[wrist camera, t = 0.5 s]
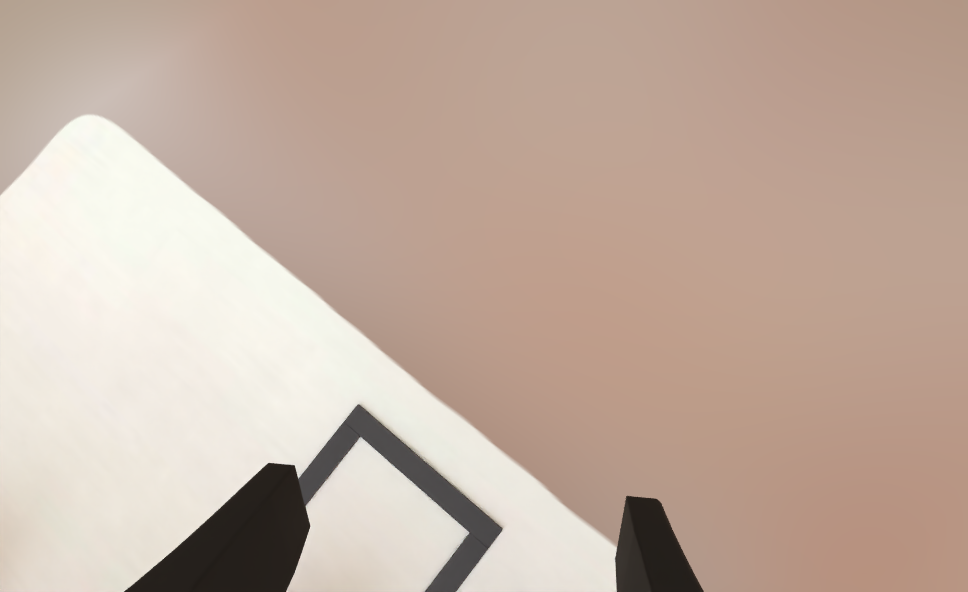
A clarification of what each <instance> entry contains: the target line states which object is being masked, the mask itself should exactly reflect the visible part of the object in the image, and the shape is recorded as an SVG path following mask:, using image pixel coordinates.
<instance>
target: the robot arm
mask: <svg viewBox="0 0 968 592" xmlns="http://www.w3.org/2000/svg"><path fill="white" fill-rule="evenodd" d="M309 529H310V523H309V519H308V515H307V511H306V508H305V504H304V500H303V496H302V492H301V488H300V484H299V480H298V477H297V473H296V469H295V465H285V464H274V463H268V464H267V465H266V466H265V467H264V468H262V469H261V470H260V471H259V472H258V473H257V474H256V475H255V476H254V477H253V478H252V479H251V480H250V481H248V482H247V483H246V484H245V485H244V486H243V487H242V488H241V489H240V490H239V491H238V492H237V493H236V494H235V495H234V496H233V497H231V498H230V499H229V500H228V501H227V502H226V503H225V504H224V505H223V506H222V507H221V508H220V509H219V510H218V511H216V512H215V513H214V514H213V515H212V516H211V517H210V518H209V519H208V520H207V521H206V522H205V523H203V524H202V525H201V526H200V527H199V528H198V529H197V530H196V531H195V532H193V533H192V534H191V535H190V536H189V537H188V538H187V539H186V540H185V541H184V542H182V543H181V544H180V545H179V546H178V547H177V548H176V549H174V550H173V551H172V552H171V553H170V554H169V555H168V556H166V557H165V558H164V559H163V560H162V561H160V562H159V563H158V564H157V565H156V566H154V567H153V568H152V569H151V570H150V571H149V572H147V573H146V574H145V575H144V576H143V577H141V578H140V579H139V580H138V581H137V582H135V583H134V584H133V585H132V586H131V587H129V588H128V589H127V590H126V591H124V592H286V590H287V588H288V586H289V584H290V582H291V579H292V577H293V575H294V573H295V570H296V567H297V564H298V561H299V559H300V556H301V553H302V550H303V547H304V544H305V541H306V538H307V535H308V532H309ZM615 562H616V583H617V592H704V591H703V589H702V588H701V586H700V584H699V582H698V580H697V578H696V576H695V574H694V573H693V571H692V569H691V567H690V565H689V563H688V561H687V559H686V557H685V555H684V553H683V551H682V549H681V547H680V545H679V542H678V541H677V538H676V536H675V534H674V532H673V530H672V528H671V525H670V523H669V521H668V518H667V516H666V514H665V511H664V509H663V507H662V504H661V503H660V502H659V501H658V500H657V499H653V498H642V497H632V496H626V501H625V507H624V513H623V518H622V524H621V529H620V535H619V541H618V546H617V552H616V557H615Z"/></svg>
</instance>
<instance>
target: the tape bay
mask: <svg viewBox="0 0 968 592" xmlns="http://www.w3.org/2000/svg"><path fill="white" fill-rule="evenodd" d="M360 436H361V437H362V438H363V439H364V440H365V441H367V442H368V443H369V444H370V445H371V446H372V447H373V448H375V449H376V450H377V451H378V452H379V453H380V454H381V455H382V456H384V457H385V458H386V459H387V460H388V461H389V462H390V463H392V464H393V465H394V466H395V467H396V468H397V469H398V470H400V471H401V472H402V473H403V474H404V475H405V476H406V477H407V478H409V479H410V480H411V481H412V482H413V483H414V484H415V485H417V486H418V487H419V488H420V489H421V490H422V491H423V492H425V493H426V494H427V495H428V496H429V497H430V498H431V499H432V500H434V501H435V502H436V503H437V504H438V505H439V506H440V507H442V508H443V509H444V510H445V511H446V512H447V513H448V514H449V515H451V516H452V517H453V518H454V519H455V520H456V521H457V522H459V523H460V524H461V525H462V526H463V527H464V528H465V529H467V530H468V531H469V532H470V533H469V535H468V536H467V537H466V539H465V540H464V541H463V543H462V544H461V545H460V547H459V548H458V549H457V550H456V552H455V553H454V554H453V556H452V557H451V558H450V560H449V561H448V562H447V564H446V565H445V566H444V568H443V569H442V570H441V572H440V573H439V574H438V576H437V577H436V578H435V579H434V581H433V582H432V583H431V585H430V586H429V587H428V589H427V590H426V591H425V592H456V591H457V589H458V588H459V587H460V585H461V584H462V583H463V581H464V580H465V579H466V577H467V576H468V575H469V573H470V572H471V571H472V569H473V568H474V567H475V565H476V564H477V563H478V561H479V560H480V559H481V557H482V556H483V555H484V553H485V552H486V551H487V549H488V548H489V547H490V545H491V544H492V543H493V541H494V540H495V539H496V537H497V536H498V535H499V533H500V532H501V531H502V528H501V527H500V526H499V525H497V524H496V523H495V522H494V521H493V520H492V519H490V518H489V517H488V516H487V515H486V514H485V513H484V512H482V511H481V510H480V509H479V508H478V507H477V506H475V505H474V504H473V503H472V502H471V501H470V500H469V499H467V498H466V497H465V496H464V495H463V494H462V493H460V492H459V491H458V490H457V489H456V488H455V487H453V486H452V485H451V484H450V483H449V482H448V481H447V480H445V479H444V478H443V477H442V476H441V475H440V474H438V473H437V472H436V471H435V470H434V469H433V468H432V467H430V466H429V465H428V464H427V463H426V462H425V461H423V460H422V459H421V458H420V457H419V456H418V455H417V454H415V453H414V452H413V451H412V450H411V449H410V448H408V447H407V446H406V445H405V444H404V443H403V442H401V441H400V440H399V439H398V438H397V437H396V436H395V435H393V434H392V433H391V432H390V431H389V430H388V429H386V428H385V427H384V426H383V425H382V424H381V423H380V422H378V421H377V420H376V419H375V418H374V417H373V416H371V415H370V414H369V413H368V412H367V411H366V410H365V409H363V408H362V407H361V406H360V405H359V404H358V405H357V406H356V407H355V409H354V410H353V411H352V412H351V414H350V415H349V416H348V417H347V419H346V420H345V421H344V422H343V424H342V425H341V426H340V427H339V429H338V430H337V431H336V433H335V434H334V435H333V436H332V438H331V439H330V440H329V441H328V443H327V444H326V445H325V446H324V448H323V449H322V450H321V451H320V453H319V454H318V455H317V456H316V458H315V459H314V460H313V461H312V463H311V464H310V465H309V466H308V468H307V469H306V470H305V471H304V473H303V474H302V475H301V477H300V478H299V479H298V480H299V484H300V488H301V492H302V496H303V500H304V504H305V505H306V504H307V503H308V502H309V500H310V499H311V498H312V497H313V495H314V494H315V493H316V491H317V490H318V489H319V488H320V486H321V485H322V484H323V483H324V481H325V480H326V479H327V478H328V476H329V475H330V474H331V473H332V471H333V470H334V469H335V467H336V466H337V465H338V464H339V462H340V461H341V460H342V459H343V457H344V456H345V455H346V454H347V452H348V451H349V450H350V448H351V447H352V446H353V445H354V443H355V442H356V441H357V440H358V438H359V437H360Z"/></svg>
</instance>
